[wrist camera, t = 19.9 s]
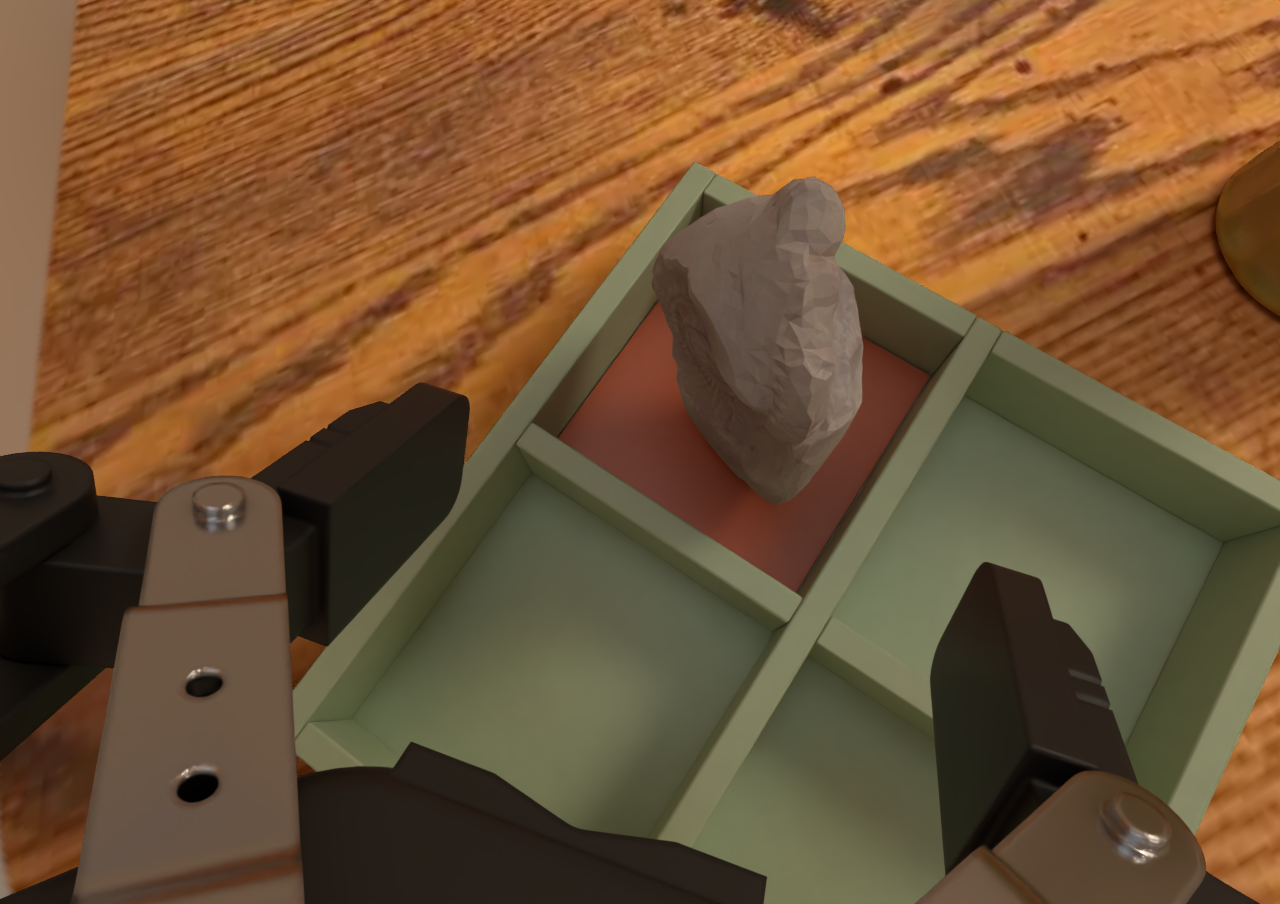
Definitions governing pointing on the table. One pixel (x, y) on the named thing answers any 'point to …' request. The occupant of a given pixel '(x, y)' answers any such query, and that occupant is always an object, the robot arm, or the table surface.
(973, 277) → the table surface
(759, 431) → the grey brown rock
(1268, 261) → the vase
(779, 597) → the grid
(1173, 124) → the table surface
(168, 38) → the table surface
